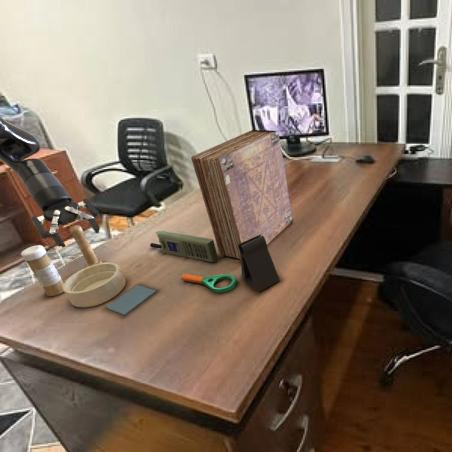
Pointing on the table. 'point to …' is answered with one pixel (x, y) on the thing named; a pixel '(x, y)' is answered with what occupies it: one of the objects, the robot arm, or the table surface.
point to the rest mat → (131, 300)
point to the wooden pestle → (84, 246)
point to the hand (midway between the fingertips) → (81, 238)
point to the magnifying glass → (214, 279)
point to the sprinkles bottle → (43, 269)
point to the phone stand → (257, 263)
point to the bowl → (94, 284)
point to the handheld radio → (187, 246)
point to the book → (244, 189)
